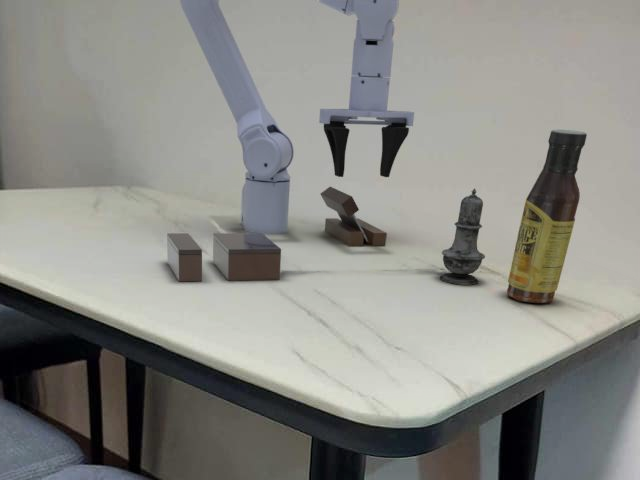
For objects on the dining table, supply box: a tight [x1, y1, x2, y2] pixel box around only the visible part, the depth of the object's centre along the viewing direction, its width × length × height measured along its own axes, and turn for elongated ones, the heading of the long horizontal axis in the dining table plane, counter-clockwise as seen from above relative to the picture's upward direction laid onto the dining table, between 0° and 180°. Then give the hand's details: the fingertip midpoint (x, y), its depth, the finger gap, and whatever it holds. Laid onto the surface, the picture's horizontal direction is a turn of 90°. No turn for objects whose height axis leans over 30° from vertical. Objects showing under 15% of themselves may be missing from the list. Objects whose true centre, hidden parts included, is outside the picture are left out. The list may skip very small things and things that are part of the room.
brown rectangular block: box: [166, 232, 203, 282], centre depth 97 cm, size 10×3×4 cm, turn 16°
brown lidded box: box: [212, 232, 282, 282], centre depth 99 cm, size 10×7×4 cm
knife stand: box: [324, 217, 388, 248], centre depth 118 cm, size 12×6×3 cm, turn 16°
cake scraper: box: [320, 186, 369, 243], centre depth 116 cm, size 10×2×8 cm
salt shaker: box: [439, 188, 486, 286], centre depth 99 cm, size 6×6×12 cm
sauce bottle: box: [506, 128, 588, 304], centre depth 90 cm, size 6×6×20 cm
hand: (361, 176), depth 114 cm, fingers open, 7 cm apart
